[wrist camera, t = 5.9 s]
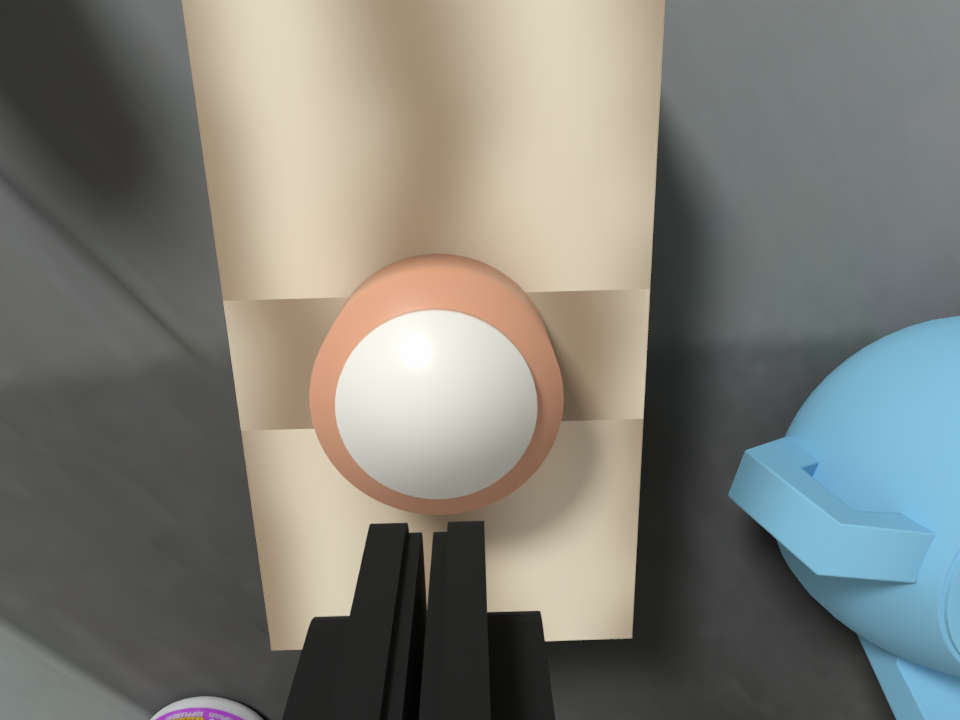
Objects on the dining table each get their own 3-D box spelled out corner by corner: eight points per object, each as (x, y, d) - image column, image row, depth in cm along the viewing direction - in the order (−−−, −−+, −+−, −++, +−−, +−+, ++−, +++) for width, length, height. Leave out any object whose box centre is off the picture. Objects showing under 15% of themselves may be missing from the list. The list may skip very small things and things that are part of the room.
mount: (609, 4, 27) (666, -26, 19) (593, 513, 34) (631, 638, 26) (259, 13, 27) (179, -15, 19) (314, 522, 33) (271, 650, 26)
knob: (530, 210, 28) (567, 280, 18) (530, 375, 30) (564, 519, 20) (353, 214, 28) (293, 287, 18) (365, 380, 30) (318, 526, 20)
